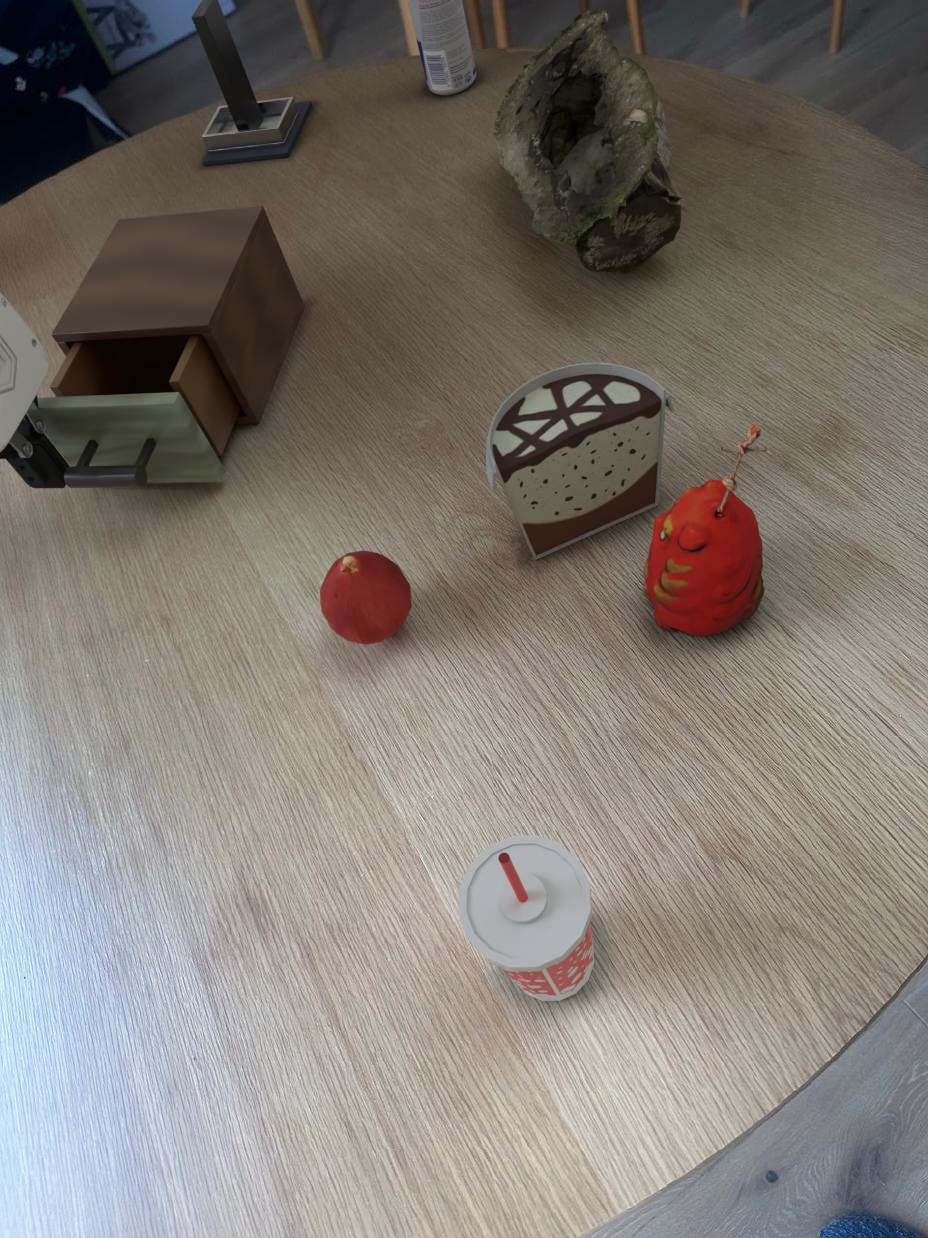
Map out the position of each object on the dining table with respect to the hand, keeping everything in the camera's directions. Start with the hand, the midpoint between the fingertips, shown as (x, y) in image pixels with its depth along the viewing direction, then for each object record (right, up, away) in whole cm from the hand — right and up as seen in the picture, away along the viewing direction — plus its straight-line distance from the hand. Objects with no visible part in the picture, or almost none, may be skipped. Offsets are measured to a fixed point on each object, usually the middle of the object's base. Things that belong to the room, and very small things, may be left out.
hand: (52, 480), depth 75 cm
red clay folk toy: (+47, -9, -13) cm, 49 cm away
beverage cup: (+36, -28, -23) cm, 51 cm away
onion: (+26, -11, -9) cm, 30 cm away
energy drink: (+30, +47, +31) cm, 64 cm away
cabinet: (+9, +12, +11) cm, 19 cm away
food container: (+39, -3, -6) cm, 40 cm away
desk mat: (+9, +42, +33) cm, 55 cm away
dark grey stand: (+8, +42, +32) cm, 54 cm away
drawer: (+7, +4, +5) cm, 10 cm away
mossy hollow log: (+43, +25, +12) cm, 51 cm away
